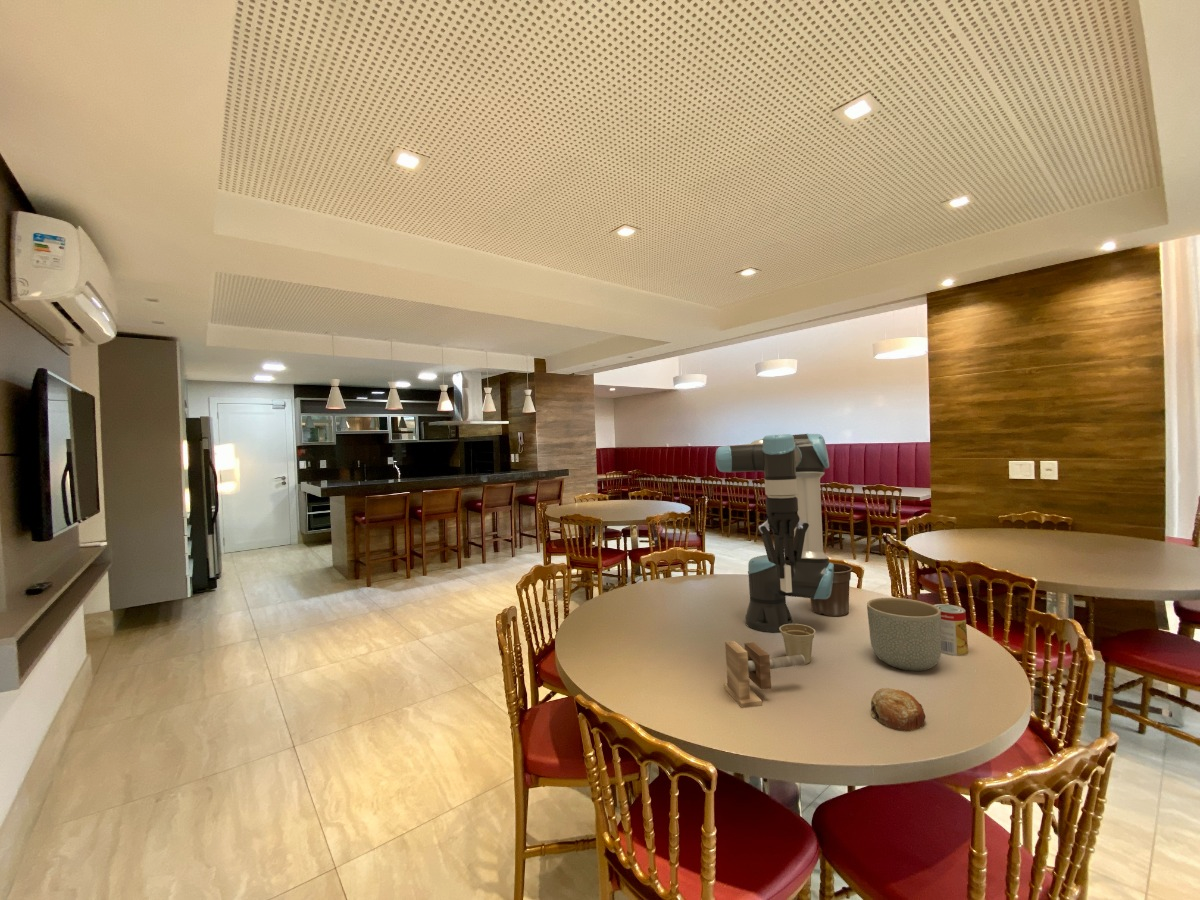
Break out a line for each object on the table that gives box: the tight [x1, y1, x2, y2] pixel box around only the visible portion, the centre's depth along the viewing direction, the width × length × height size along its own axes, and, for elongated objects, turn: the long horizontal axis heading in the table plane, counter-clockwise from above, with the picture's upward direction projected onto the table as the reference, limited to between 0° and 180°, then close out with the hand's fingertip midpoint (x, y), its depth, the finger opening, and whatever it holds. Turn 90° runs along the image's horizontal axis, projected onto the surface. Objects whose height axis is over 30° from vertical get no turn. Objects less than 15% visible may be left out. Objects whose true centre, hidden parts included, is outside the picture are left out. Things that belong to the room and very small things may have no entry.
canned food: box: [933, 603, 969, 657], centre depth 137 cm, size 8×8×12 cm
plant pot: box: [809, 562, 853, 617], centre depth 174 cm, size 16×16×16 cm
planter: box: [866, 597, 942, 672], centre depth 130 cm, size 17×17×15 cm
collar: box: [744, 641, 772, 691], centre depth 117 cm, size 2×8×8 cm, turn 9°
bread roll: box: [870, 687, 926, 732], centre depth 104 cm, size 10×10×8 cm
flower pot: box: [779, 623, 816, 665], centre depth 135 cm, size 9×9×9 cm
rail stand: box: [723, 640, 806, 709], centre depth 118 cm, size 19×10×12 cm, turn 99°
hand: (786, 590), depth 119 cm, fingers closed
